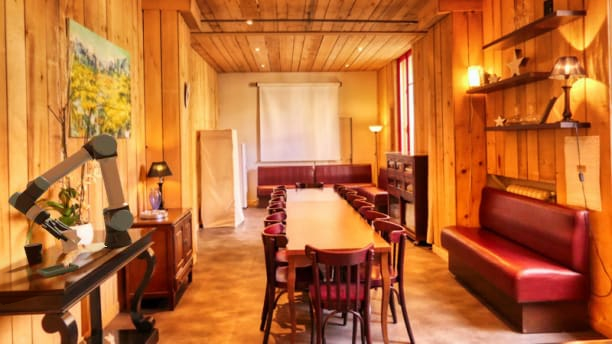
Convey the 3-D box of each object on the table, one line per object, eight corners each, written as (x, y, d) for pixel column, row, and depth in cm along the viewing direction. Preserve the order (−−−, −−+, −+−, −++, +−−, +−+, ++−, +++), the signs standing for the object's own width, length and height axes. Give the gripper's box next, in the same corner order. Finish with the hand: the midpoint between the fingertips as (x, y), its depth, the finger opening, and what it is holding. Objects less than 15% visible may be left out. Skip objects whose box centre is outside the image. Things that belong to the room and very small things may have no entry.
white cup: (74, 251, 232) (71, 231, 231) (59, 253, 232) (55, 233, 231) (82, 247, 239) (79, 228, 239) (67, 249, 240) (64, 230, 239)
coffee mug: (36, 265, 240) (33, 246, 239) (22, 265, 241) (19, 247, 241) (52, 258, 251) (50, 240, 250) (39, 259, 253) (36, 241, 252)
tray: (68, 265, 230) (68, 262, 230) (79, 269, 220) (78, 265, 220) (37, 273, 220) (37, 269, 220) (46, 277, 210) (46, 273, 210)
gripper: (43, 217, 243) (80, 243, 246) (23, 224, 223) (63, 253, 225) (52, 206, 243) (88, 232, 246) (33, 212, 223) (73, 241, 226)
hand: (76, 242), depth 236 cm, fingers closed on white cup, 8 cm apart
